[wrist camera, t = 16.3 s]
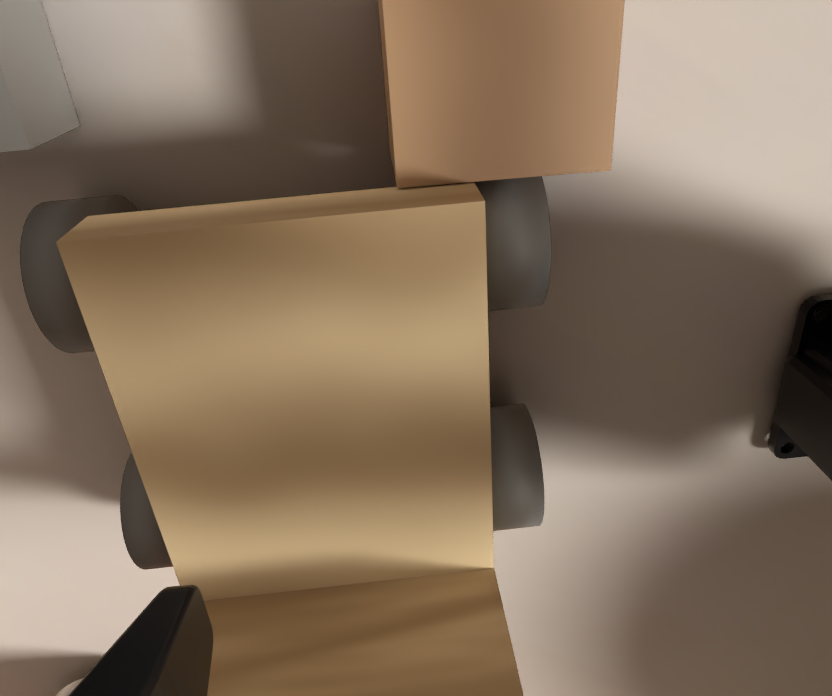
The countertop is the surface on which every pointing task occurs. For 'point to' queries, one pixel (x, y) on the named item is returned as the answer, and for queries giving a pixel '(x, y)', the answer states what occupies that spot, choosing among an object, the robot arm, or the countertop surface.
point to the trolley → (315, 419)
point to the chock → (499, 87)
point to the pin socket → (30, 79)
